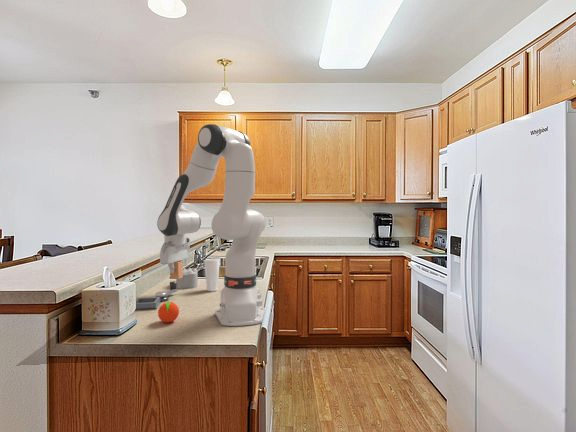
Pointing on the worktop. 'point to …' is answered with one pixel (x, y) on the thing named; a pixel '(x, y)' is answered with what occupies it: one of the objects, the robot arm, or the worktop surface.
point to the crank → (172, 289)
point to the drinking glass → (212, 273)
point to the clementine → (168, 312)
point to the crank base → (164, 299)
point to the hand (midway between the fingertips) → (175, 271)
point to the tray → (147, 303)
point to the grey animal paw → (188, 279)
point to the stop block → (177, 271)
